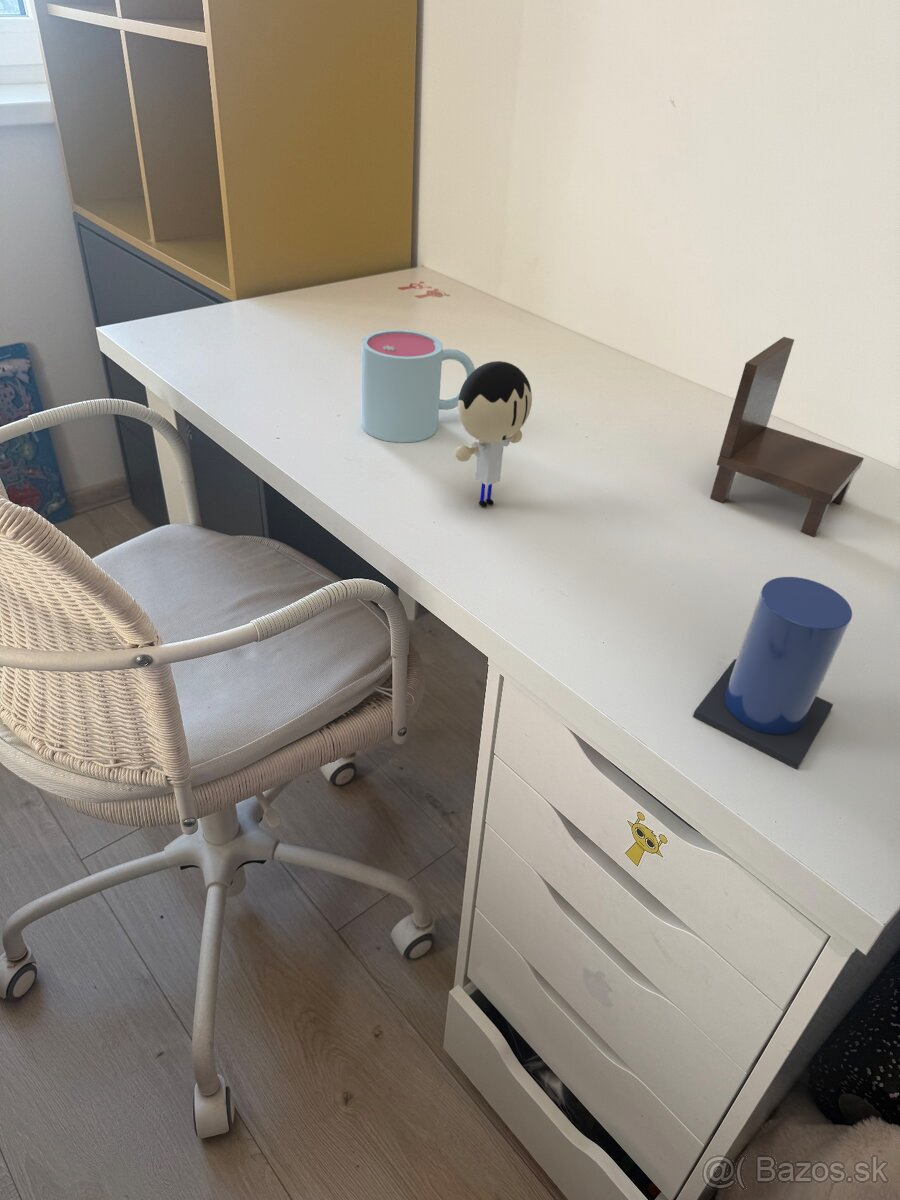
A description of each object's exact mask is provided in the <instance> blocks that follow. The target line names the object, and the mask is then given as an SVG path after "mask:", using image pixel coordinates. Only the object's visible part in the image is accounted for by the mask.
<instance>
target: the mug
mask: <svg viewBox="0 0 900 1200" xmlns="http://www.w3.org/2000/svg"><path fill="white" fill-rule="evenodd" d="M443 347H444V345H443V342H442V341H441V340H439V339H438V338H437V337H435V336H433V335H431V334H428V333H425V332H421V331H416V330H409V329H384V330H378V331H374V332H371V333H369V334H367V335H365V336H364V337H363V338H362V339H361V428H362V429H363V431H364V432H365V433H366V434H367V435H369V436H371V437H373V438H375V439H378V440H381V441H385V442H390V443H400V444H402V443H415V442H416V443H417V442H421V441H425V440H427V439H429V438H431V437H434V436H435V434H436V433H437V432H438V427H439V412H440V410H444V411H448V410H452V409H455V408H458V398H459V394H460V392H459V393H458V394H457V395H455V396H454V397H452V398H449V399H441V398H440V396H441V384H442V383H441V380H442V379H441V378H442V365H443V364H442V363H443V361H447V360H452V361H456V362H459V363H460V364H461V365H462V367H464V370H465V374H466V379H467V378H468V376H469V375H470V374H471V373H472V372H473V371H474V370H475V369H476V368H475V365H474V363H473V361H472V360H471V358H470V356H468V355H467V354H466V353H465V352H463V351H461V350H458V349H455V348H446V349H443Z"/></svg>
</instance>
